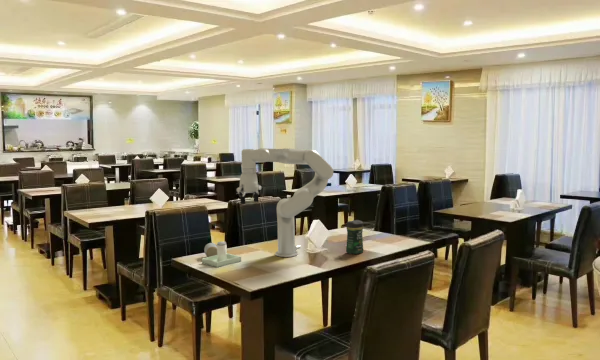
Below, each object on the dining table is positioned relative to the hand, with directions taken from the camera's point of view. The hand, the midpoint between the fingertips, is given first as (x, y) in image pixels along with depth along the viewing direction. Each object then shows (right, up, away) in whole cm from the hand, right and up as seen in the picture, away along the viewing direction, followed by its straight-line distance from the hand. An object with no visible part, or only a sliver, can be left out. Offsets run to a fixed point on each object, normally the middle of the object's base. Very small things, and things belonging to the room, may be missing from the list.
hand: (249, 202), depth 266 cm
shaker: (-14, -31, -9) cm, 35 cm away
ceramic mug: (-20, -31, +3) cm, 37 cm away
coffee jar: (+59, -29, +9) cm, 66 cm away
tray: (-14, -31, -9) cm, 35 cm away
